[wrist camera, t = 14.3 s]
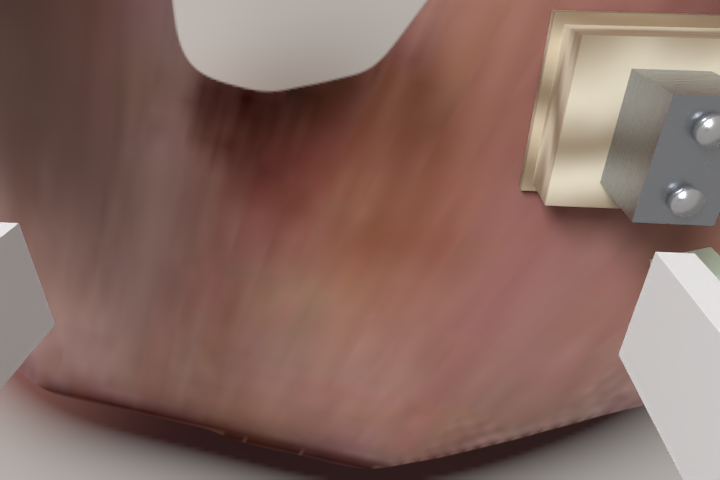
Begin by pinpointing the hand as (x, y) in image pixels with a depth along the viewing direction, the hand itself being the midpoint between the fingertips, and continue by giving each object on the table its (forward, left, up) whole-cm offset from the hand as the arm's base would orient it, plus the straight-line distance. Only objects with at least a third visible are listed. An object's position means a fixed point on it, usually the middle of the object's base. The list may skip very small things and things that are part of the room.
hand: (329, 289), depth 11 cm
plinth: (+5, +19, -32) cm, 37 cm away
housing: (+5, +19, -27) cm, 33 cm away
